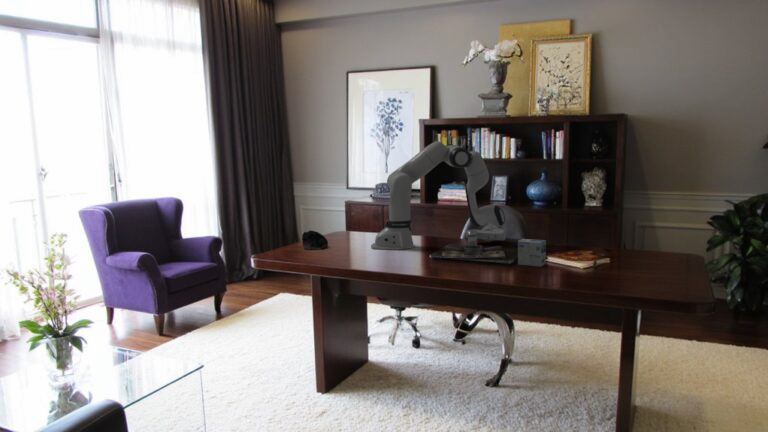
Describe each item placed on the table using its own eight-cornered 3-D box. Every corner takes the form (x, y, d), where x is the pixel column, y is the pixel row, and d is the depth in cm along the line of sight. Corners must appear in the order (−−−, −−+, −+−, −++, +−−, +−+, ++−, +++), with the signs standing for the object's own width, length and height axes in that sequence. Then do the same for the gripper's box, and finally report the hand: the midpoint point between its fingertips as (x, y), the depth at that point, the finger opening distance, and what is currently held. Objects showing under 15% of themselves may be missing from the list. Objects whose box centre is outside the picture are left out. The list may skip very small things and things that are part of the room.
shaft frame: (442, 258, 260) (441, 247, 260) (442, 254, 270) (442, 243, 270) (505, 258, 257) (505, 247, 256) (503, 254, 266) (503, 243, 266)
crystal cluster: (333, 248, 296) (332, 229, 296) (314, 250, 286) (313, 231, 286) (316, 247, 305) (315, 229, 305) (297, 249, 295) (296, 230, 295)
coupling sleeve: (467, 251, 274) (467, 231, 273) (467, 250, 279) (467, 230, 277) (477, 252, 274) (477, 231, 272) (476, 250, 278) (476, 230, 277)
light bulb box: (546, 264, 244) (546, 239, 243) (541, 267, 239) (541, 242, 237) (522, 261, 250) (522, 238, 249) (517, 264, 245) (517, 240, 243)
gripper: (472, 225, 301) (461, 229, 289) (508, 228, 290) (498, 232, 278) (472, 237, 301) (461, 241, 290) (508, 240, 291) (498, 244, 279)
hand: (480, 237), depth 284 cm, fingers open, 8 cm apart
